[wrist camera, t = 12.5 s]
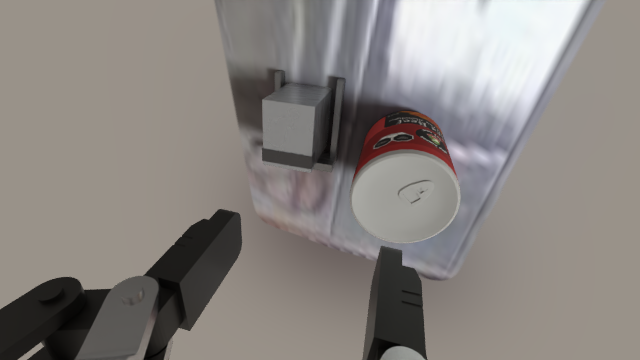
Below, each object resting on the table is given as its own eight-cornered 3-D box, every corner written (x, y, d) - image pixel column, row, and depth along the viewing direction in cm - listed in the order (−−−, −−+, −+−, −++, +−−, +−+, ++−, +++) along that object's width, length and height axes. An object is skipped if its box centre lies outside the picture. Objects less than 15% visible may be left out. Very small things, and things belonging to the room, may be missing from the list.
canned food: (460, 136, 30) (487, 194, 20) (407, 192, 34) (409, 261, 25) (396, 91, 29) (393, 129, 20) (350, 153, 33) (329, 209, 24)
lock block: (288, 82, 31) (261, 99, 25) (332, 88, 31) (315, 107, 24) (287, 137, 34) (262, 164, 28) (327, 144, 34) (310, 173, 27)
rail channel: (278, 70, 31) (267, 75, 28) (345, 78, 30) (340, 85, 27) (278, 150, 35) (268, 161, 33) (336, 160, 34) (331, 172, 32)
